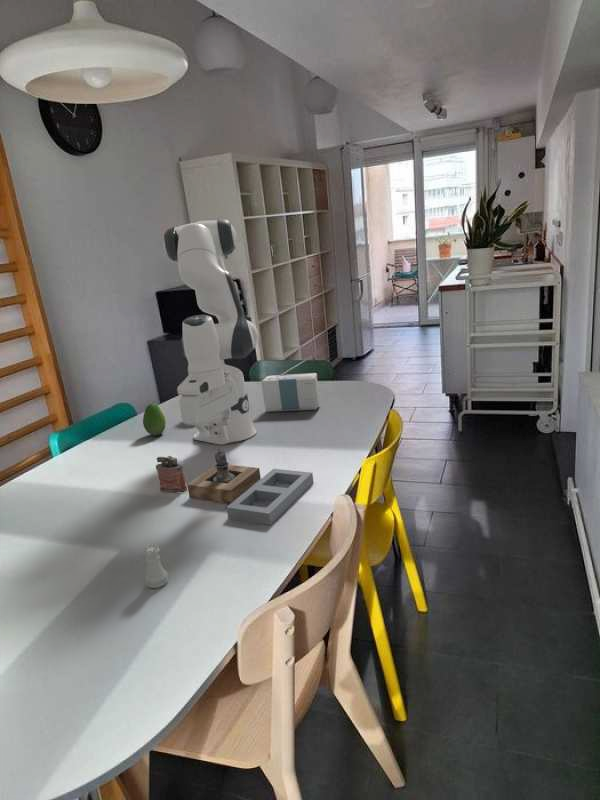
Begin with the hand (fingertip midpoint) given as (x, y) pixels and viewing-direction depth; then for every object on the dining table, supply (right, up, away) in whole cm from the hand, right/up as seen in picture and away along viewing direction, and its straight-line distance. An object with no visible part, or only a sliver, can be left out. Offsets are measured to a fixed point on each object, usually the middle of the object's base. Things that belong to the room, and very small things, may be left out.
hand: (216, 430), depth 144 cm
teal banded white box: (+20, +4, +69) cm, 72 cm away
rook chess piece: (-7, -29, -34) cm, 45 cm away
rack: (+15, -17, -4) cm, 23 cm away
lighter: (-13, -17, +9) cm, 23 cm away
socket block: (+2, -16, +5) cm, 17 cm away
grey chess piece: (+2, -17, +5) cm, 17 cm away
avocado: (-31, -5, +58) cm, 66 cm away
